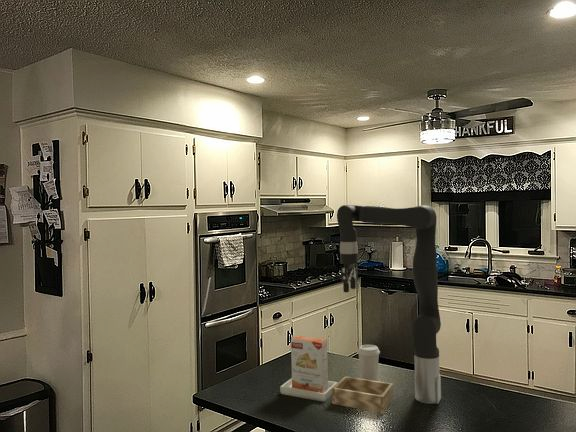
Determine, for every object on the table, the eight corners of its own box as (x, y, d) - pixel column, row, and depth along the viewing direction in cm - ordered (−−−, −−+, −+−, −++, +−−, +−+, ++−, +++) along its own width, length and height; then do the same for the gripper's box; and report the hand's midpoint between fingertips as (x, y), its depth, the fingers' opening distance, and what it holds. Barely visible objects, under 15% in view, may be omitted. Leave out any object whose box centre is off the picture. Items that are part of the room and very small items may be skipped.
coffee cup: (379, 378, 207) (378, 344, 207) (381, 386, 197) (380, 350, 197) (357, 377, 208) (356, 344, 208) (358, 386, 198) (357, 350, 198)
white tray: (337, 389, 195) (337, 382, 195) (324, 402, 183) (324, 394, 183) (295, 382, 204) (295, 375, 204) (280, 393, 192) (280, 386, 192)
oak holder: (393, 398, 185) (393, 383, 185) (383, 413, 172) (383, 396, 172) (345, 390, 194) (345, 376, 194) (332, 403, 182) (332, 388, 181)
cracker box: (291, 389, 194) (290, 338, 194) (297, 384, 200) (296, 334, 199) (322, 394, 188) (321, 342, 187) (328, 389, 193) (327, 338, 193)
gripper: (351, 254, 192) (352, 294, 192) (362, 250, 204) (363, 288, 205) (334, 253, 195) (335, 292, 195) (346, 250, 208) (347, 287, 208)
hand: (349, 290), depth 200 cm, fingers open, 8 cm apart
